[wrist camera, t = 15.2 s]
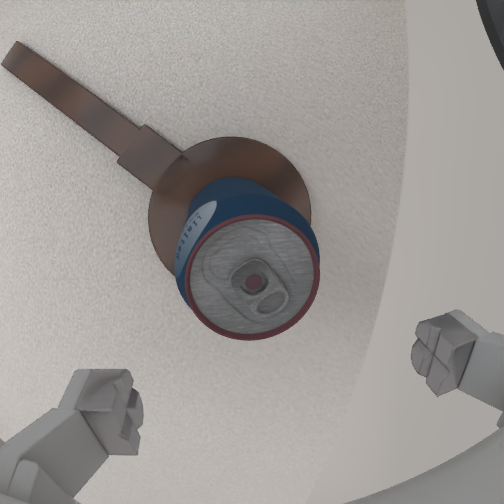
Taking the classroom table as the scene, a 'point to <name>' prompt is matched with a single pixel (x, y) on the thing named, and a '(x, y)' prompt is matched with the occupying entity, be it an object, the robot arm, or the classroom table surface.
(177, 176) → the serving spoon
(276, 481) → the classroom table surface
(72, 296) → the classroom table surface
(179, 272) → the soda can
